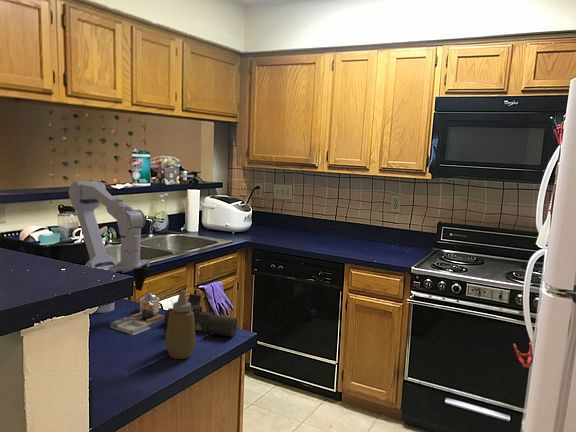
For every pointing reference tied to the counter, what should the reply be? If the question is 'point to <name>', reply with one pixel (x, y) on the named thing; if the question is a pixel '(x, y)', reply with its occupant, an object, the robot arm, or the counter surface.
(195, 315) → the laser sight
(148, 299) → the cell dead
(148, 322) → the tan square tray
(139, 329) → the cradle
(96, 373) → the counter surface
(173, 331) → the squeeze bottle
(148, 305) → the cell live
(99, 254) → the robot arm
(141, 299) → the cup
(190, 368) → the counter surface
